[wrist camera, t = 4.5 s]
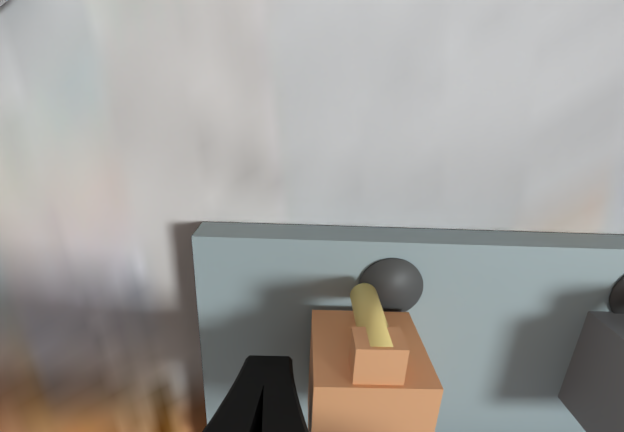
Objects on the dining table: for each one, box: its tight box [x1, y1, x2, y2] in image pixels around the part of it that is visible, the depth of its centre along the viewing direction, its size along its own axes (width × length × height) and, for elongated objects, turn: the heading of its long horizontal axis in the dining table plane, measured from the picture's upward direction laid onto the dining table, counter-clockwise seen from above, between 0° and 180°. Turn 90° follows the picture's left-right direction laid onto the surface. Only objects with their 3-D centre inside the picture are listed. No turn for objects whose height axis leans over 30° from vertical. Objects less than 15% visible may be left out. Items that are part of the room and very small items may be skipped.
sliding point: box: [308, 283, 444, 432], centre depth 10 cm, size 3×5×3 cm, turn 178°
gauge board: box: [192, 222, 624, 432], centre depth 11 cm, size 16×10×4 cm, turn 88°
